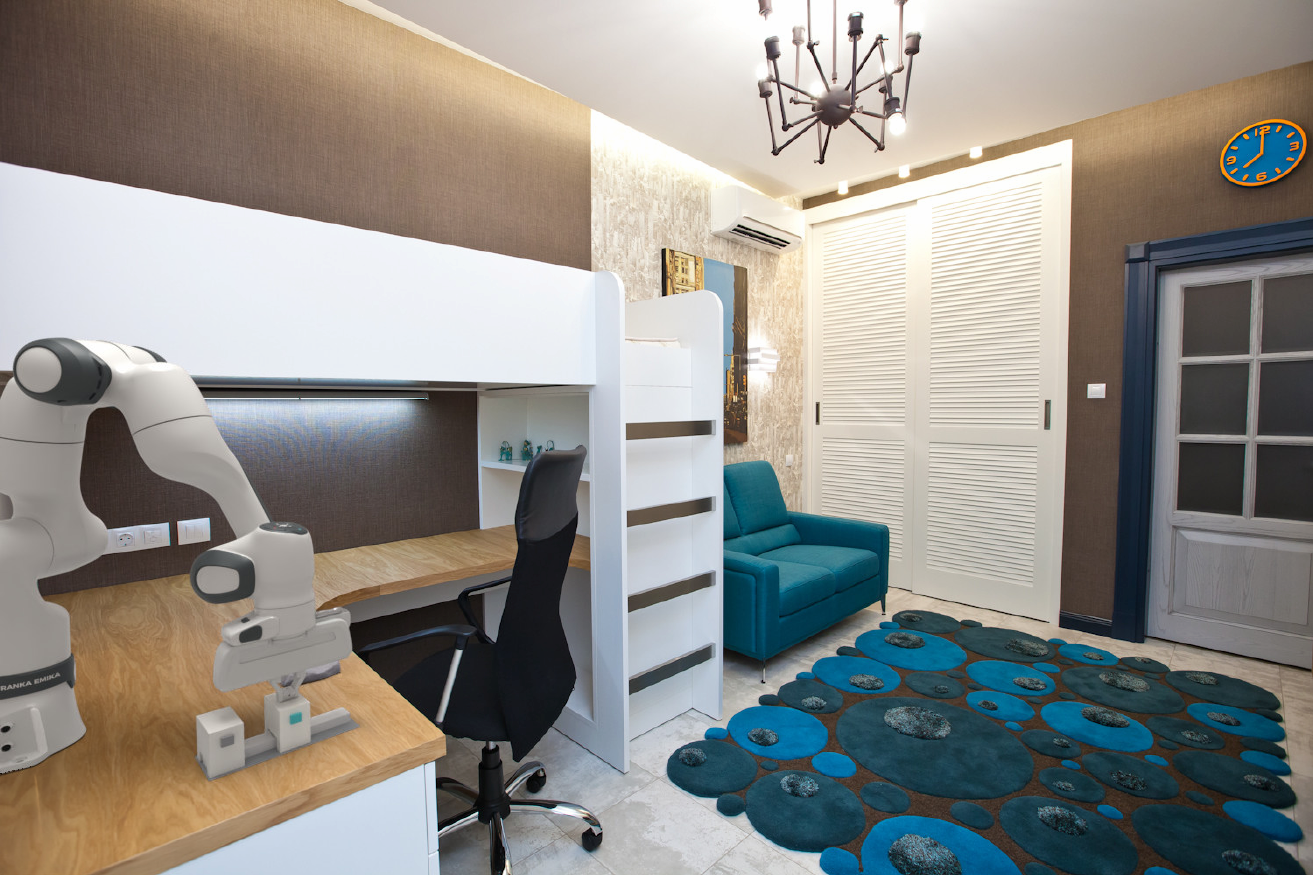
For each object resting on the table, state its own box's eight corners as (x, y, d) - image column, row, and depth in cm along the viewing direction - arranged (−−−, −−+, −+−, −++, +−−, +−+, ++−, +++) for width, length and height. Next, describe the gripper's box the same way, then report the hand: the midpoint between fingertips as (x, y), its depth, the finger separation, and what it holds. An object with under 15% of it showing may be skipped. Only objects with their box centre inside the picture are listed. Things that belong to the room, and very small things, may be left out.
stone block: (345, 680, 133) (325, 660, 139) (346, 660, 133) (326, 641, 139) (285, 701, 124) (267, 679, 130) (286, 680, 123) (267, 659, 129)
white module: (281, 754, 98) (280, 712, 98) (264, 734, 104) (264, 695, 104) (311, 743, 102) (311, 703, 101) (294, 724, 108) (293, 687, 108)
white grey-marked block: (210, 779, 91) (209, 735, 91) (197, 757, 98) (196, 715, 97) (245, 767, 95) (244, 724, 94) (230, 746, 101) (229, 705, 101)
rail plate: (209, 787, 91) (208, 771, 91) (194, 762, 98) (194, 747, 98) (360, 731, 107) (360, 717, 107) (339, 713, 114) (338, 700, 114)
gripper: (343, 600, 112) (345, 674, 113) (209, 629, 97) (211, 714, 98) (357, 607, 108) (358, 684, 109) (218, 638, 93) (221, 727, 94)
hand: (287, 698), depth 103 cm, fingers closed, pressing on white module
